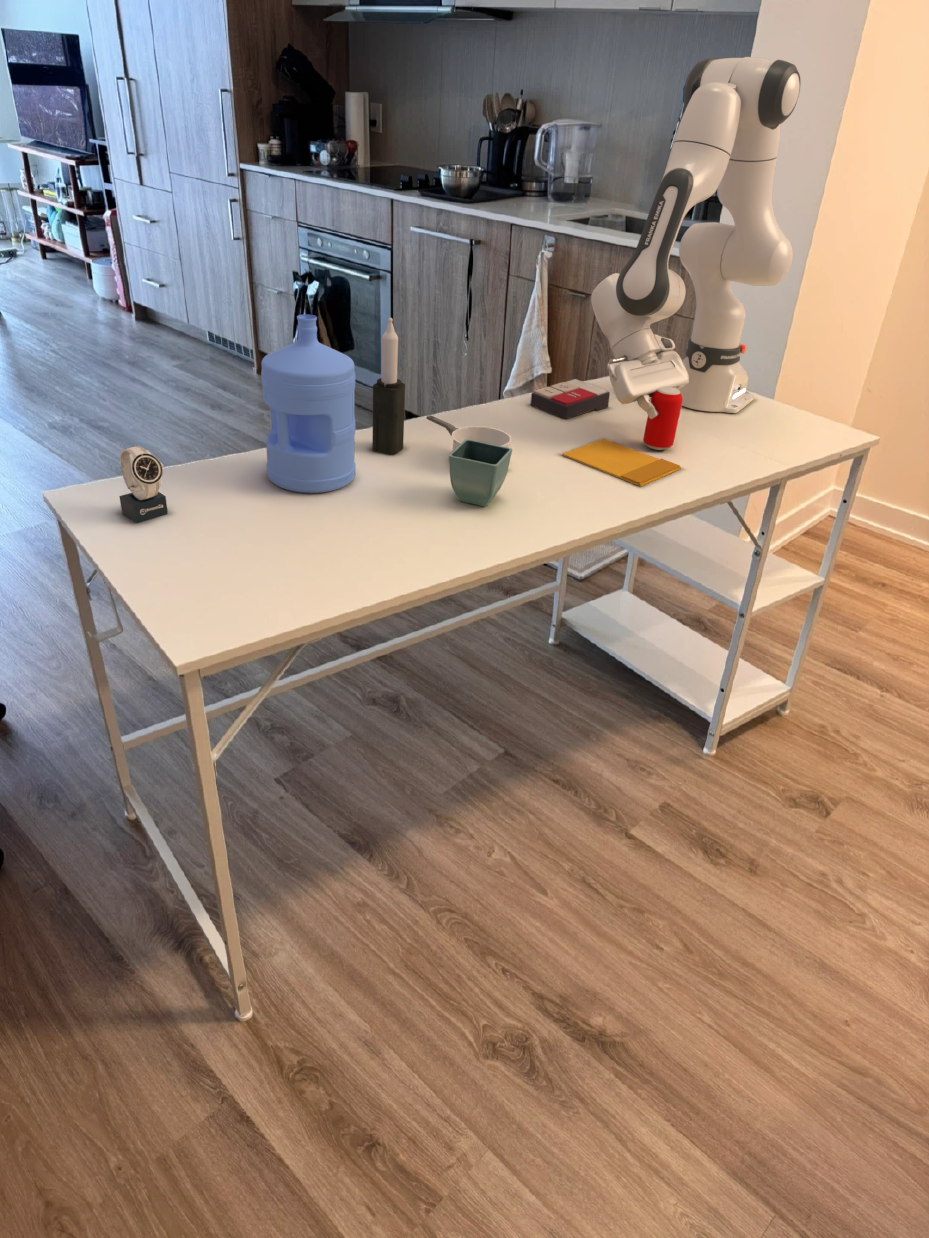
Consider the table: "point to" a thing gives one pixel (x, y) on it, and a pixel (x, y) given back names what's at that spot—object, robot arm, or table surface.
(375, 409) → the candle
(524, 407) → the table surface
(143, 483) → the watch
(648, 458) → the cloth
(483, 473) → the flower pot
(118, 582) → the table surface
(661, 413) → the beverage can
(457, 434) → the saucepan
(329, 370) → the water jug
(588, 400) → the calculator
